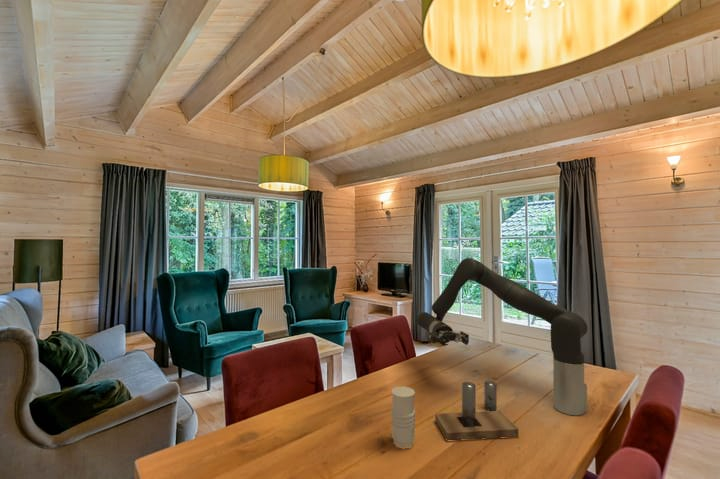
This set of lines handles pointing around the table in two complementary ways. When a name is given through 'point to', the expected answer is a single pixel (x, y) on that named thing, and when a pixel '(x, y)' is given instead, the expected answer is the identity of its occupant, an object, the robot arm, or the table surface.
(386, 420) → the table surface
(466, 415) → the tall pin
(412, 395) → the white ribbed cylinder
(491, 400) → the short pin
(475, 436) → the hole plate
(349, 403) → the table surface
